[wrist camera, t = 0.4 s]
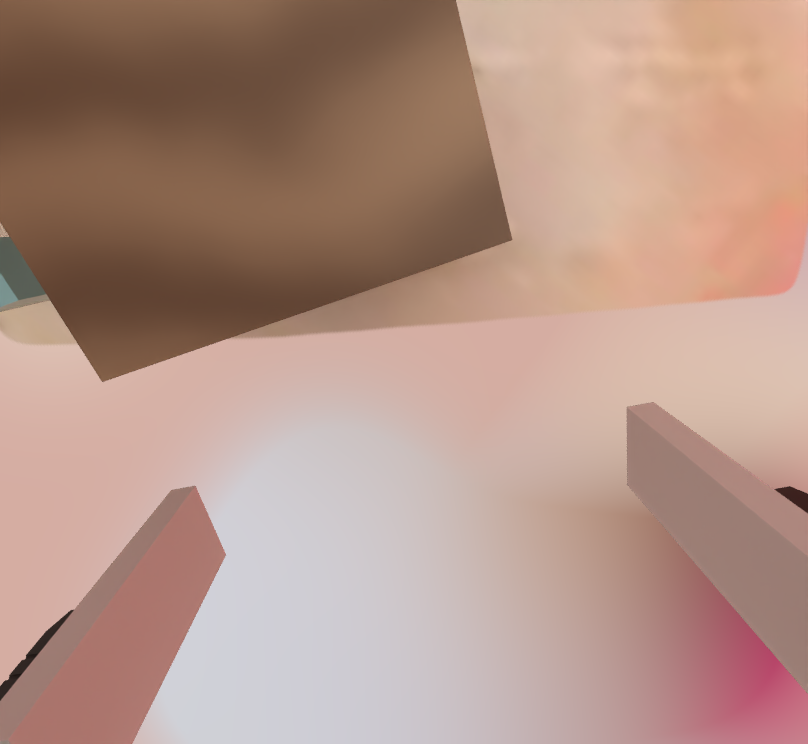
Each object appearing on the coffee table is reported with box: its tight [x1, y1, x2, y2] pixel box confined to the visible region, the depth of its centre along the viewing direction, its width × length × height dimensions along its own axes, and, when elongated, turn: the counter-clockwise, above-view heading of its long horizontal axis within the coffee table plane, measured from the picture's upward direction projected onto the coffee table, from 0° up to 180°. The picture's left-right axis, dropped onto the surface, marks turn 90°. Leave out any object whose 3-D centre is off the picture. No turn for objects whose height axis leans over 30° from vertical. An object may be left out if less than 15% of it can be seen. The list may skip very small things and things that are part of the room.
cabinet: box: [0, 0, 512, 382], centre depth 23 cm, size 17×17×22 cm
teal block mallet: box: [0, 237, 50, 312], centre depth 31 cm, size 4×16×10 cm, turn 108°
